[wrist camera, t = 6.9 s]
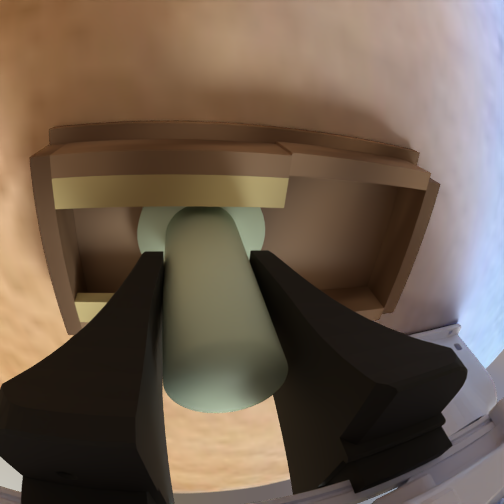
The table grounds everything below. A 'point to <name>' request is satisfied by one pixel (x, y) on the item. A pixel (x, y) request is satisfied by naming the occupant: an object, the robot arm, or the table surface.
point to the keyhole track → (231, 204)
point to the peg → (213, 307)
